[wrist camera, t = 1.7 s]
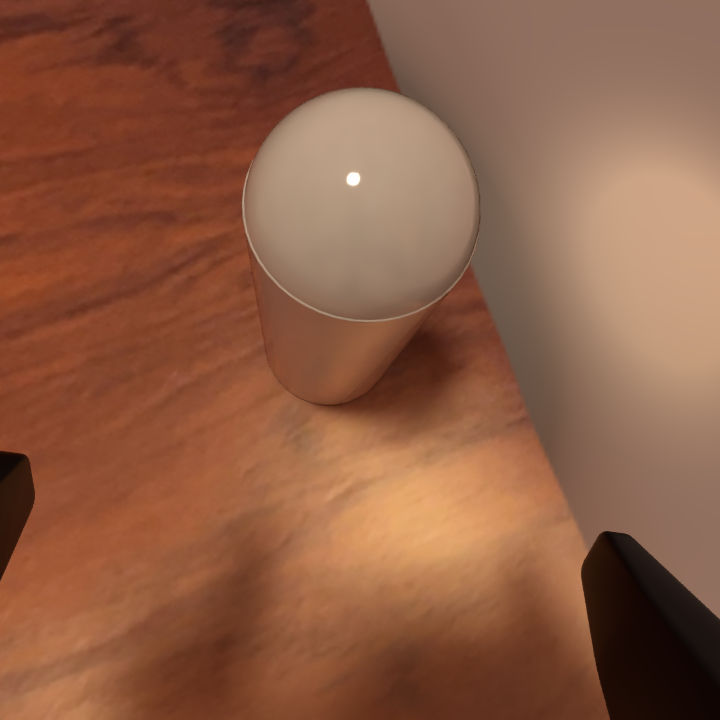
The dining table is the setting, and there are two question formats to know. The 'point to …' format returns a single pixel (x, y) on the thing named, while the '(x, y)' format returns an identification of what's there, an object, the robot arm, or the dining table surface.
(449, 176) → the dome-capped cylinder
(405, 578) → the dining table surface
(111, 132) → the dining table surface
